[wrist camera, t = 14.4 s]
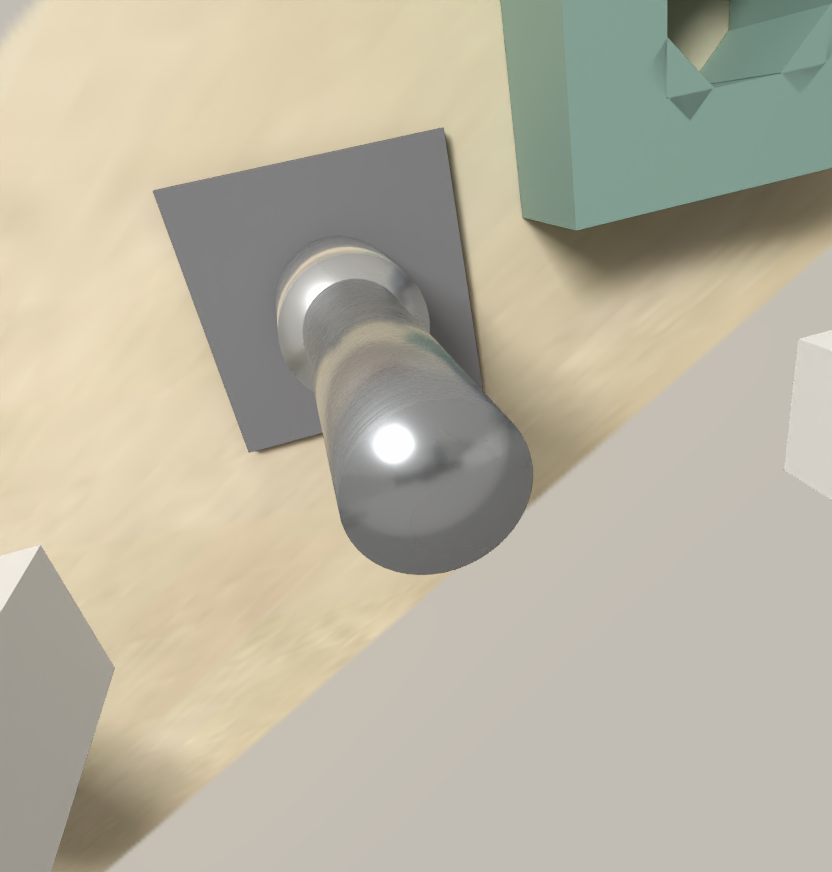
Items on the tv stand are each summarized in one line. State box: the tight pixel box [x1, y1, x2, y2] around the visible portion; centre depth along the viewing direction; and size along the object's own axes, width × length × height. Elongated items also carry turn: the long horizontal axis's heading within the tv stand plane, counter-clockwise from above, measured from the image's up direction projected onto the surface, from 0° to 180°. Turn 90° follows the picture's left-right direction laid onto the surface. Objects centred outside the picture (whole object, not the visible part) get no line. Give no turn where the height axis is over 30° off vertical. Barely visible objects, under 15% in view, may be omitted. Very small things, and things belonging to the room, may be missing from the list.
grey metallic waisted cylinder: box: [276, 236, 533, 575], centre depth 18 cm, size 5×5×16 cm
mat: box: [153, 128, 483, 453], centre depth 25 cm, size 11×11×1 cm
